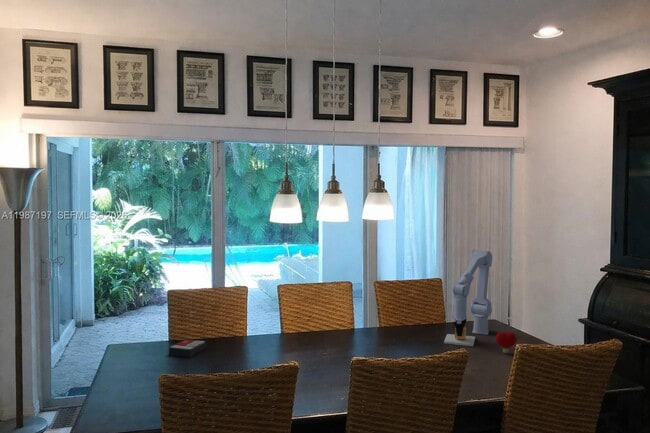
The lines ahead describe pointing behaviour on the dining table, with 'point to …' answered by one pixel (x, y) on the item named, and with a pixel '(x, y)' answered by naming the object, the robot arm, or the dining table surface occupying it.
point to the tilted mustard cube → (462, 334)
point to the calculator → (187, 348)
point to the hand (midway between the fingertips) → (459, 334)
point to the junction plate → (459, 340)
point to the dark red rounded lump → (506, 340)
